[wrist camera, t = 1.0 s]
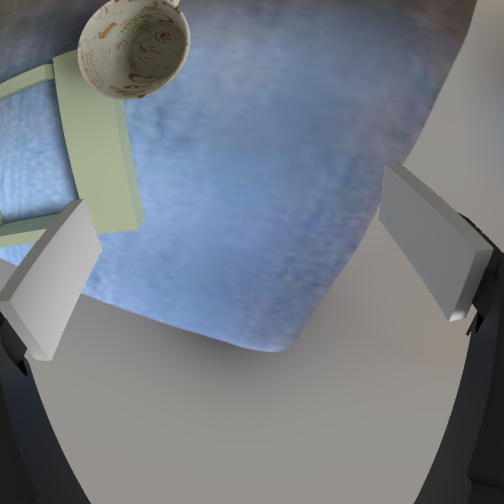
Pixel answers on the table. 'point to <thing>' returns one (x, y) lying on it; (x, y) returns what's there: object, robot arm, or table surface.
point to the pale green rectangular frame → (84, 152)
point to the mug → (133, 47)
